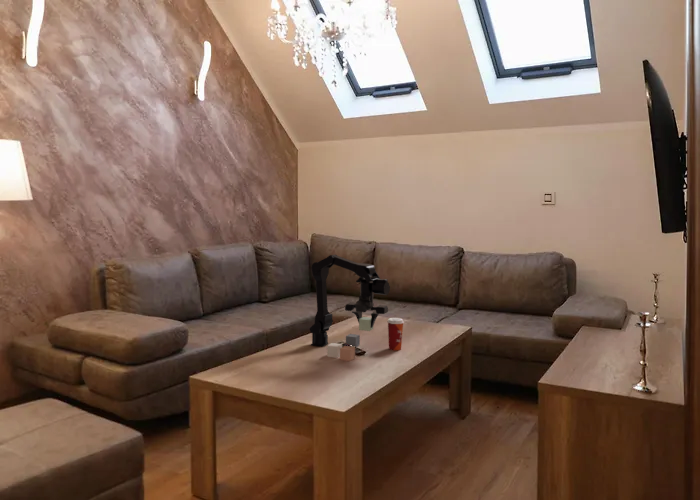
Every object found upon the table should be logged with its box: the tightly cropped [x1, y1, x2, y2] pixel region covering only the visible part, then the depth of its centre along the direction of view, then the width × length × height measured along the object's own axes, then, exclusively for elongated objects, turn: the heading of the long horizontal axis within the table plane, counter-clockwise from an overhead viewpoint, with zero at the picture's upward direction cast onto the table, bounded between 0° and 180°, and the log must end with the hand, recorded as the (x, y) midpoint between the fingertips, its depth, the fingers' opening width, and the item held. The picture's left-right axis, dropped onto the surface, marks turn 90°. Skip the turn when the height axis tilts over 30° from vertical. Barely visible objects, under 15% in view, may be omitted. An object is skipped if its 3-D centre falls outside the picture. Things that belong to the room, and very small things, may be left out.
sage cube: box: [358, 316, 374, 332], centre depth 255 cm, size 5×5×5 cm
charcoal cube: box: [345, 333, 361, 348], centre depth 268 cm, size 5×5×5 cm
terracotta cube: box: [339, 345, 356, 362], centre depth 246 cm, size 5×5×5 cm
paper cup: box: [387, 317, 405, 351], centre depth 262 cm, size 8×8×14 cm
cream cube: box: [326, 342, 343, 359], centre depth 251 cm, size 5×5×5 cm
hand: (366, 327), depth 255 cm, fingers closed on sage cube, 5 cm apart
